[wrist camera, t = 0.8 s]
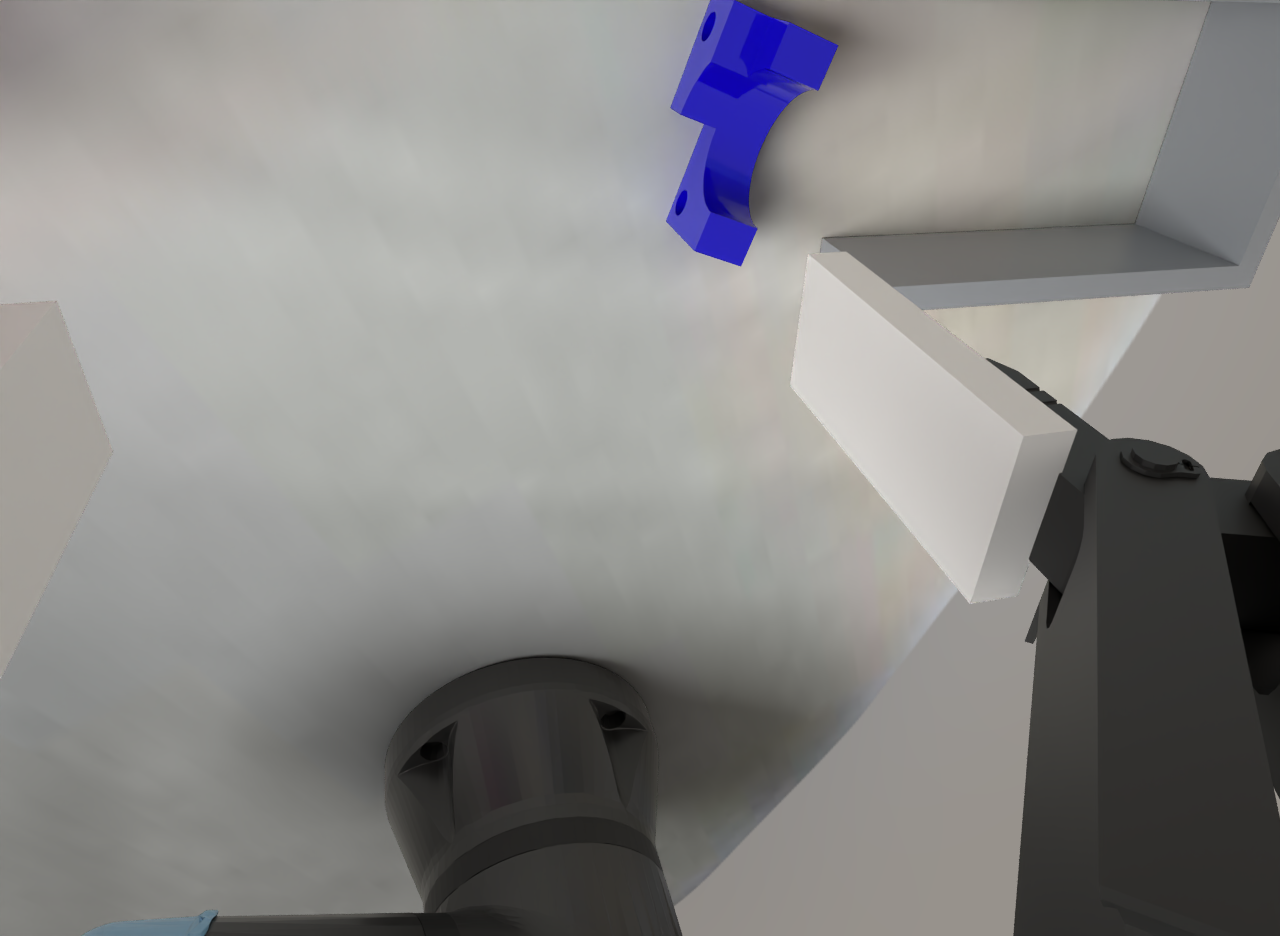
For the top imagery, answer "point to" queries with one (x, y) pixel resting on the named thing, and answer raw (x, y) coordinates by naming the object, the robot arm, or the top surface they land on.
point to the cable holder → (736, 117)
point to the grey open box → (1170, 212)
